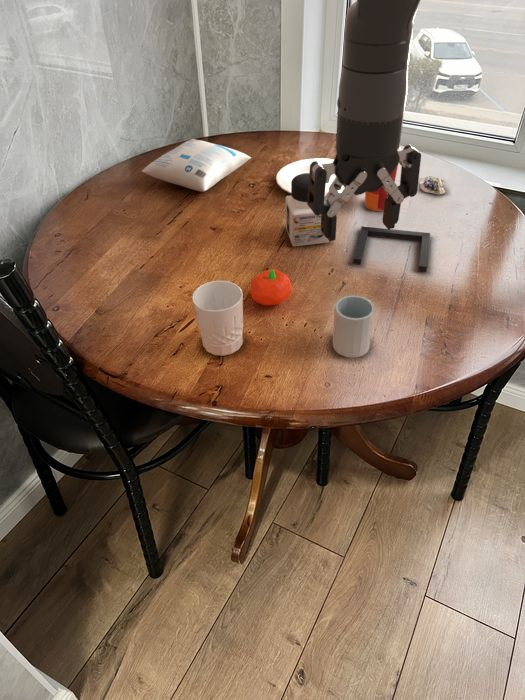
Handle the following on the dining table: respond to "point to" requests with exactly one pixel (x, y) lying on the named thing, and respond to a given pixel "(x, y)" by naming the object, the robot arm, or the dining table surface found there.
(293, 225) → the container
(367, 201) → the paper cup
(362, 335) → the pale grey cup
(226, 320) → the white cup
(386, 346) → the dining table surface
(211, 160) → the pouch
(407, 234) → the frame
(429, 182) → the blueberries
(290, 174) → the plate
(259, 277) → the pumpkin
